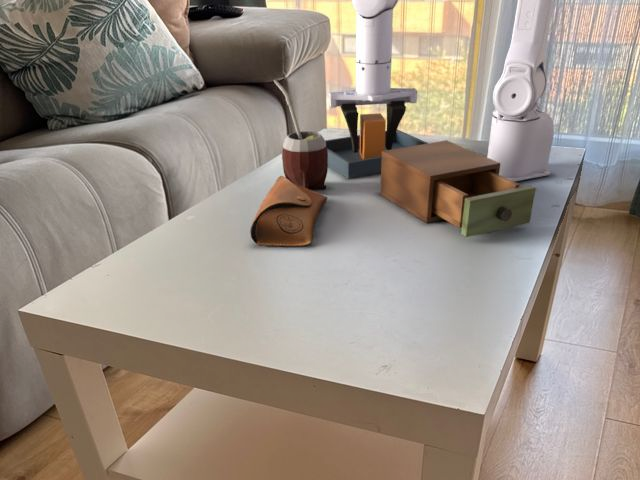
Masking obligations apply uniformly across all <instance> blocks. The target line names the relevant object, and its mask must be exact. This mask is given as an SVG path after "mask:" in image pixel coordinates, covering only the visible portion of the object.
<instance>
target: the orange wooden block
mask: <svg viewBox="0 0 640 480" xmlns="http://www.w3.org/2000/svg"><path fill="white" fill-rule="evenodd" d="M386 130H387V119H385V117H384V116H383V114H382V113H381V112H380V113H379V112H378V113H364V114H363V113H361V114H360V115H359V135H360V155H361V157H362V159H369V158H375V157H381V156H382V151H385V131H386Z"/></svg>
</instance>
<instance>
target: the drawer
mask: <svg viewBox="0 0 640 480" xmlns="http://www.w3.org/2000/svg"><path fill="white" fill-rule="evenodd" d="M536 190H537V188H536V186H533V185H530V184H529V185H525V186H521V184H520V183H518V182H517V181H516V182H514V181H511V180H509V179H507V178H505V177H502V176H500V175H498V174H496V173H494V172H491V171H489V170H487V171H482V172H476V173H471V174H466V175H460V176H455V177H450V178H444V179H439V180H434V188H433V200H432V212H433V213H434V214H436V215H438V216H439V217H441V218H443V219H444V220H445V221H446V222H448V223H449V224H451V225H453V226H455V227H456V228H458V229H461V231H460V235H462V236H463V237H465V238H469V237H473V236H477V235H482V234H487V233H492V232H495V231H500V230H504V229H505V230H506V229H509V228H514V227H517V226H522V225H523V226H524V225H528V224H530V223H531V217H532V211H533V208H534V207H533V206H534V201H535V196H536Z"/></svg>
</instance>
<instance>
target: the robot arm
mask: <svg viewBox="0 0 640 480" xmlns="http://www.w3.org/2000/svg"><path fill="white" fill-rule="evenodd" d="M350 1H351V5H352V7H353V9H354V10H355V12H356V16H355V17H356V20H355V21H356V25H355V26H356V27H355V28H356V29H355V89H350V90H341V91H331V92H328V105H329V108H330V109H331V108H332V109H333V108H337V107H340V109H341V112H342V113H343V117H344V120H345V123H346V125H347V129H348V132H349V137H350V136H351V141H352V150H353V152H354V153H356V152H358V137H357V135H358V129H359V128H358V127H359V111H358V107H357V106H370V105H386V129H385V131H386V149H387V150H392V144H393V140H394V137H395V134H396V131H397V129H398V128H399V126H400V123H401V121H402V119H403V117H404V115H405V114H406V111H407V106H406V104H407V103H410V104H417V102H418V90H417V89H416V88H415V87H410V88H409V87H408V88H406V87H405V88H403V87H400V88H399V87H391V85H392V84H391V83H392V59H393V58H392V55H393V33H394V29H393V28H394V27H393V20H394V19H393V18H394V9H395V7H396V6H397V4H398V3H399V0H350ZM554 2H555V0H517V4H516V10H515V17H514V22H513V23H514V24H513V29H512V36H511V41H510V45H509V49H508V50H507V51H508V52H507V53H506V56H505V61H504V65H503V71H502V74H501V75H500V78H499V79H498V80H497V82H496V84H495V86H494V89H493V93H492V103H493V106H494V108H495V109H493V110H492V117H491V123H490V133H489V139H488V147H487V155H486V157H487V158H489V159H492V160H494V161H497V162H499V163H500V171H499V175H500V176H502V177H505V178H507V179H509V180H511V181H514V182H516V183H517V182H521V181H525V180H531V179H536V178H541V177H546V176H549V175H551V171H550V170H548V166H549V161H550V158H551V157H550V156H551V152H552V146H553V140H554V135H555V125H554V121H553V118H552V117H551V116H550V114H548V113H547V112H545V111H542V110H541V108H540V105H539V103H538V101H539V100H540V99H541V98H542V97H543V95H544V94H545V91H546V89H547V85H548V76H547V73H546V69H545V63H546V62H545V61H546V57H547V39H548V34H549V33H548V32H549V28H550V23H551V18H552V12H553V7H554Z"/></svg>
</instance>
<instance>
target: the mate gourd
mask: <svg viewBox="0 0 640 480" xmlns="http://www.w3.org/2000/svg"><path fill="white" fill-rule="evenodd" d="M273 82H274V84H275V85H276V87H278V89H279V90H280V91H281V92H282V94H283V96H284V97H285V102H286V105H287V106H288V109H289V112H290V115H291V118H292V122H293V125H294V128H295V131H294V132H291V133H289V134H288V135H287V136H286V138H285V139H284V141H283V144H282V151H281V161H282V169H283V174H284V177H285V178H287V179H288V180H289V181H291V182H292V183H294V184H297V185H299V186H302V187H304V188H307V189H309V190H312V191H319V190H320V191H325V190H326V189H327V185H325V183H326V179H327V175H328V168H329V166H328V151H327V146H326V142H325V140H326V139H325V138H324V137H323V135H322V134H321V133H319V132H316V131H310V130H307V131H306V130H305V131H301V130H300V127H299V122H298V120H297V116H296V112H295V110H294V105H293V100H292V97H291V96H290V95H289V93H288V91H287V90H286V89H285V88H284V86H283V85H281V83H280V82H279V81H278V80H277V79H275V78H274V79H273Z"/></svg>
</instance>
